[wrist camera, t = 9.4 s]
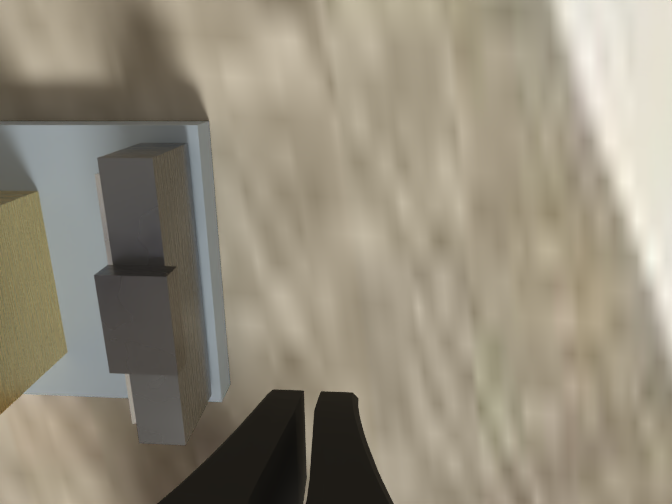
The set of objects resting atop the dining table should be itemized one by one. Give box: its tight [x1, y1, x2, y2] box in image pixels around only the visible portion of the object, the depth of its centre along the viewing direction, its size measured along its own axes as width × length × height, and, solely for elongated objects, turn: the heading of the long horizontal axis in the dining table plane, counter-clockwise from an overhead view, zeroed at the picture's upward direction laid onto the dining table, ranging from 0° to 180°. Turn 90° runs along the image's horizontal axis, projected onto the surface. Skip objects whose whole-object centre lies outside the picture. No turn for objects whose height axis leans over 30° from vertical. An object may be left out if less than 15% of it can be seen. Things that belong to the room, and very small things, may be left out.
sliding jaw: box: [94, 143, 212, 445], centre depth 17 cm, size 2×9×4 cm, turn 0°
